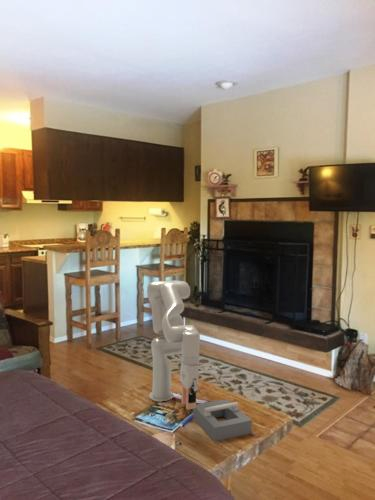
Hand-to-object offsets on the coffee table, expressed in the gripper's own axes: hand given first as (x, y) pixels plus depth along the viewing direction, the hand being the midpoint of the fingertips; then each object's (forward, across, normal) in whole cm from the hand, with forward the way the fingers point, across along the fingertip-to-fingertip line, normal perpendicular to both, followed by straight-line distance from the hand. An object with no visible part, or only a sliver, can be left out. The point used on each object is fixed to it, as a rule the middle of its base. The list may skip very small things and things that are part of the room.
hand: (188, 398), depth 185 cm
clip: (+3, 0, 0) cm, 3 cm away
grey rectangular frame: (+15, +1, +16) cm, 22 cm away
